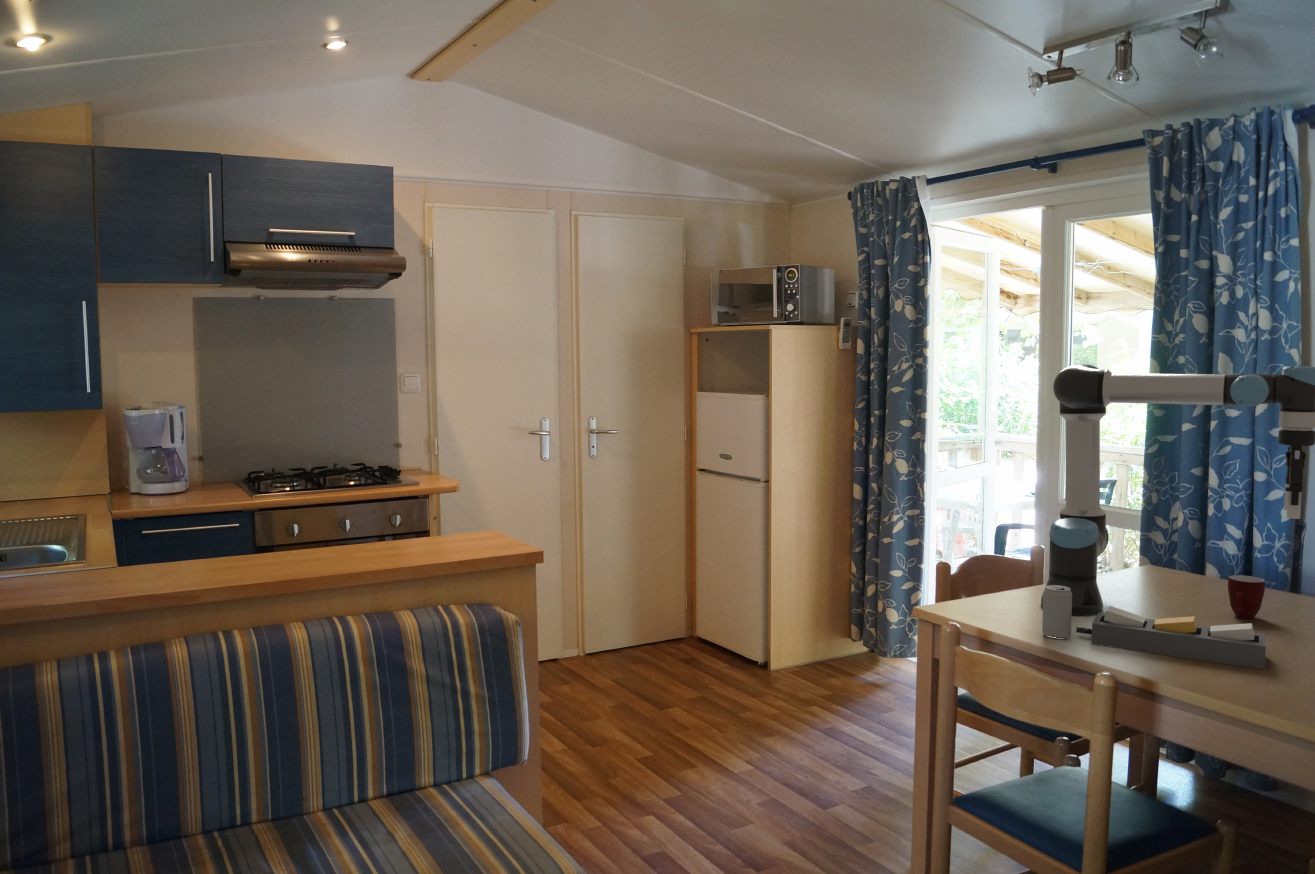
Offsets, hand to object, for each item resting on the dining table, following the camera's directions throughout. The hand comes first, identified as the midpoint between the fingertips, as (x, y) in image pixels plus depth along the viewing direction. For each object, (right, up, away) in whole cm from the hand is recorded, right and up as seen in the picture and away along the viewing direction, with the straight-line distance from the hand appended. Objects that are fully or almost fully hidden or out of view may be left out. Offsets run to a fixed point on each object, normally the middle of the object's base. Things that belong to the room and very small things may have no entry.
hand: (1291, 514), depth 232 cm
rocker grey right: (-30, -25, -24) cm, 46 cm away
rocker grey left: (-48, -25, -13) cm, 56 cm away
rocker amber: (-39, -25, -19) cm, 50 cm away
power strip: (-41, -29, -17) cm, 53 cm away
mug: (-7, -27, +8) cm, 29 cm away
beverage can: (-62, -29, -7) cm, 68 cm away
